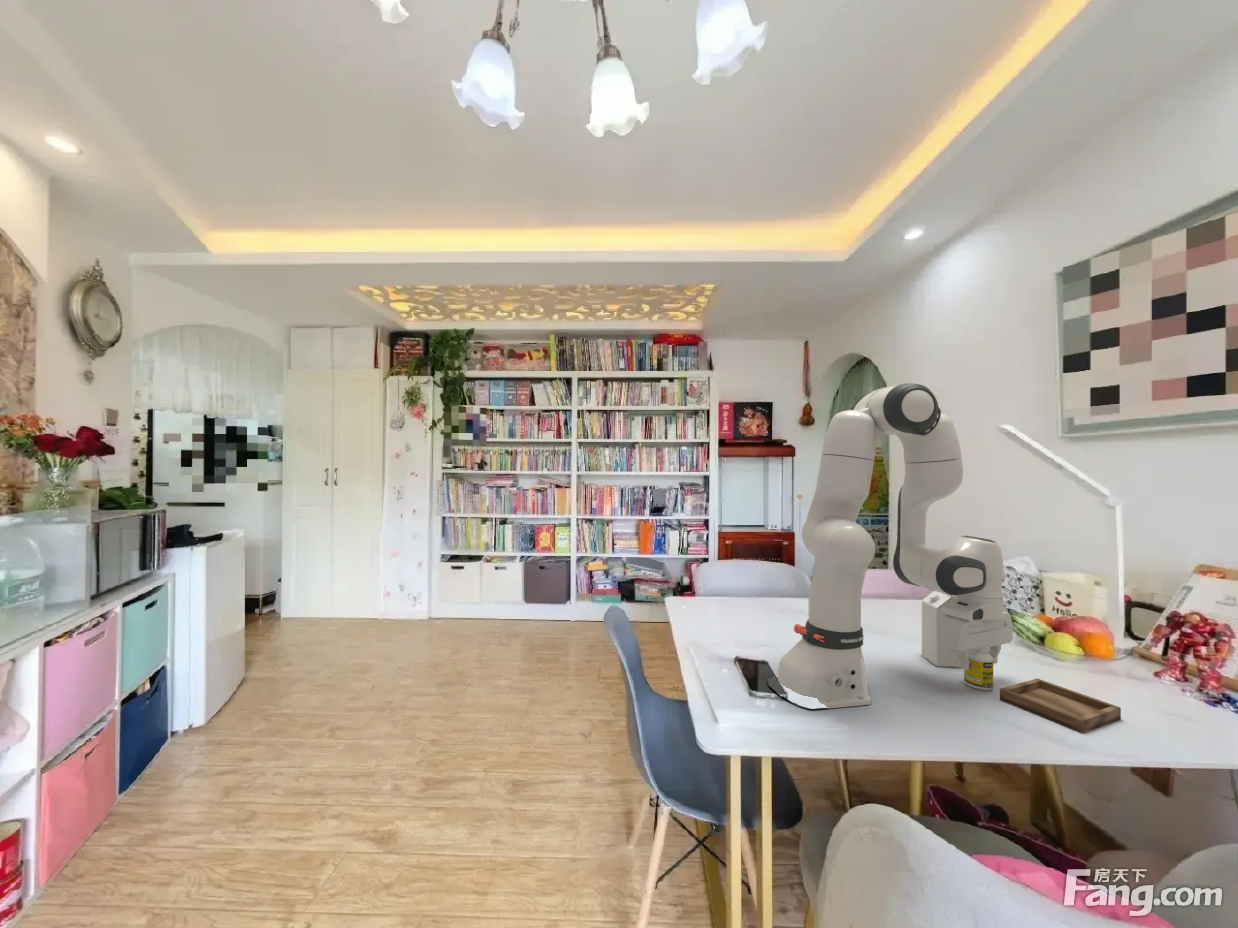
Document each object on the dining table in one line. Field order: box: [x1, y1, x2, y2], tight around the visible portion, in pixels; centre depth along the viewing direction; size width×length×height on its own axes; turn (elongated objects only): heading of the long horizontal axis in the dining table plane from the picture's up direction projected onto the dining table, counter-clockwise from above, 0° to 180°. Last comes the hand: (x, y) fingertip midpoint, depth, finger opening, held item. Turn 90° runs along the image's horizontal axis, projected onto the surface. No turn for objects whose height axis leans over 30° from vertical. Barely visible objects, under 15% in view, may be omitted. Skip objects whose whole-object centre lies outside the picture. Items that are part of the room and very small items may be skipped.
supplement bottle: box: [963, 646, 995, 691], centre depth 109 cm, size 5×5×10 cm
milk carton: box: [921, 590, 960, 668], centre depth 123 cm, size 7×7×19 cm
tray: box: [999, 678, 1122, 734], centre depth 99 cm, size 14×14×2 cm
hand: (978, 665), depth 109 cm, fingers open, 8 cm apart
